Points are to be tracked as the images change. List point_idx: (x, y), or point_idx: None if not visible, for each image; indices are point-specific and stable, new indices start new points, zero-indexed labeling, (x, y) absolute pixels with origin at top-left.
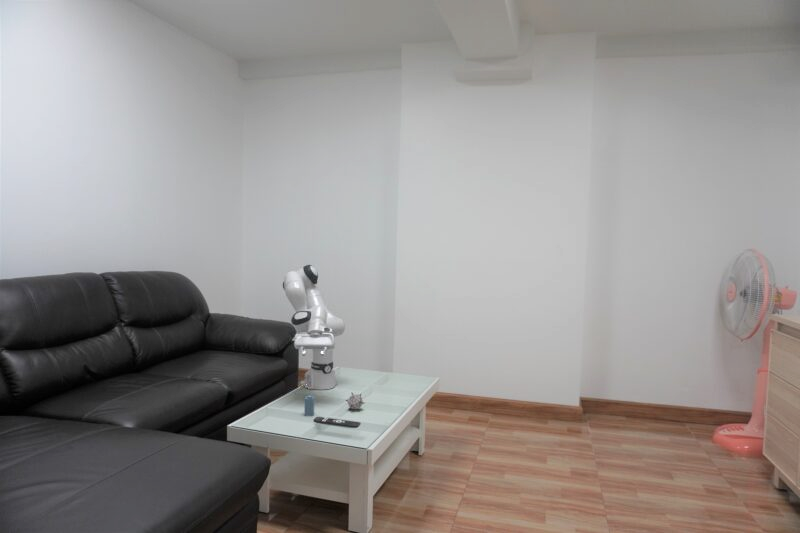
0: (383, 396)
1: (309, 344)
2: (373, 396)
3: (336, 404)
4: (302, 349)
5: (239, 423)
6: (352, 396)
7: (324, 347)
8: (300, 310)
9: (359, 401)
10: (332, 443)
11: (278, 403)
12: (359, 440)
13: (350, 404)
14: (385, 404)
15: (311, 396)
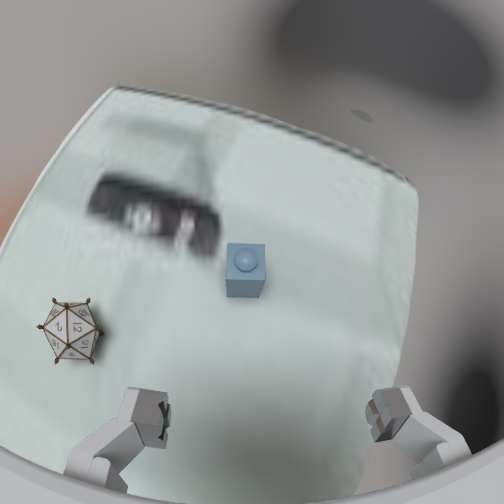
0: None
1: (382, 501)
2: None
3: None
4: (432, 427)
5: (413, 202)
6: (69, 315)
7: (101, 471)
8: None
9: (56, 302)
10: (172, 95)
11: None
12: (117, 111)
13: (89, 311)
14: (8, 380)
15: (237, 253)
